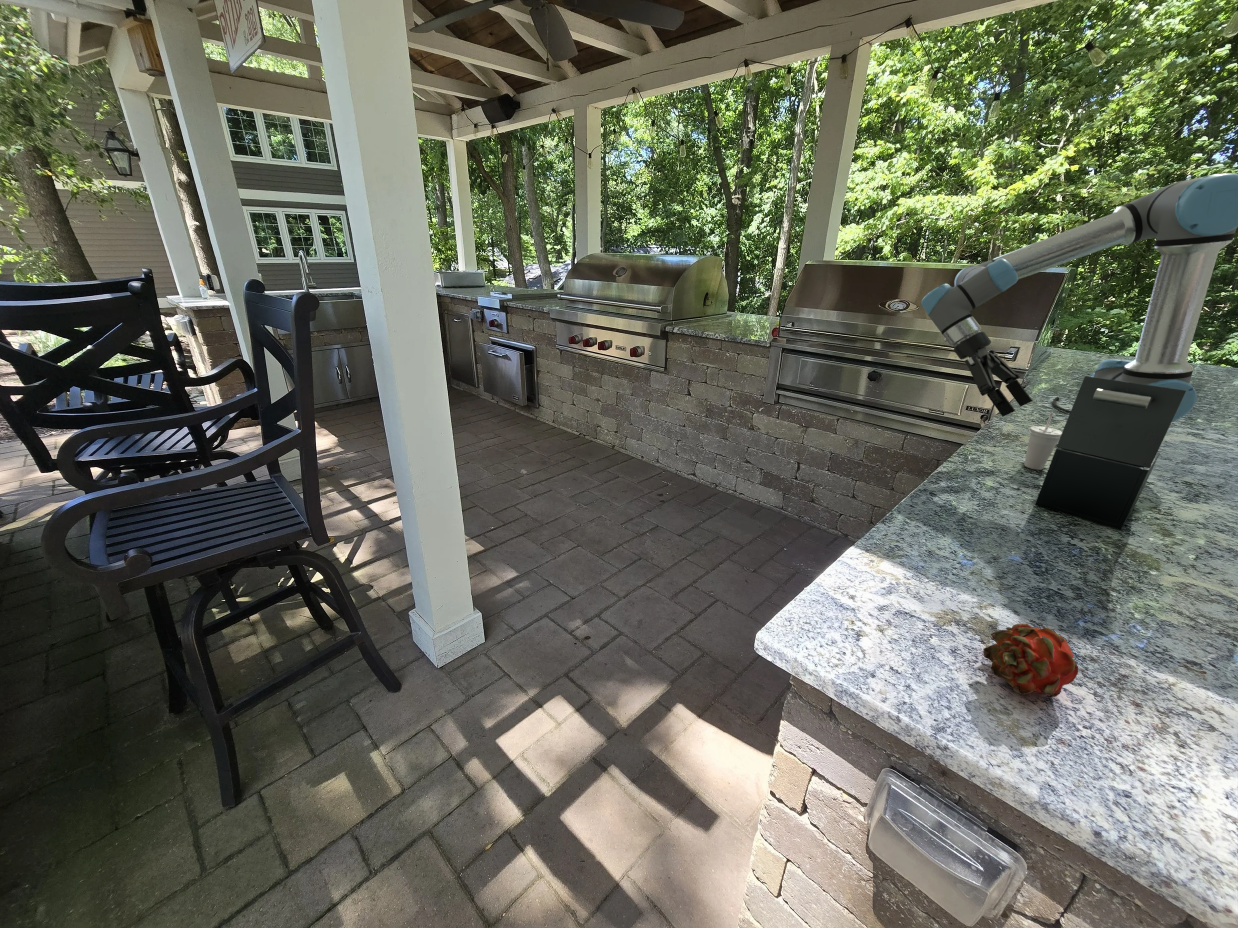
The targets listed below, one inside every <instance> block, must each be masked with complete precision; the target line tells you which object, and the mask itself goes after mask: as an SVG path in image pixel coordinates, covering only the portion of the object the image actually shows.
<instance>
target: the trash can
mask: <svg viewBox="0 0 1238 928" xmlns="http://www.w3.org/2000/svg"><path fill="white" fill-rule="evenodd" d="M1054 450H1055V451H1054V453H1053V456H1052V459H1051V460H1050V464H1049V467H1048V469H1047V471H1046V475H1045V476H1044V480H1043V482H1042V485H1041V487H1040V490H1039V493H1038V495H1037V498H1036V501H1035V502H1034V503H1035V506H1039V507H1042V508H1044V509H1048V510H1052V511H1055V512H1057V513H1061V514H1065V515H1068V516H1072V517H1076V518H1078V519H1082V520H1084V521H1088V522H1091V523H1095V524H1098V525H1102V526H1104V527H1108V528H1111V529H1115V530H1118V531H1122V529H1123V528H1124V526H1125V525H1126V522H1127V521H1128V520H1129V518H1130V517H1131V514H1132V512H1133V511H1134V509H1135V507H1136V505H1137V503H1138V501H1139V499H1140V496H1141V494H1142V492H1143V490H1144V488H1145V486H1146V484H1147V482H1148V480H1149V478H1150V475H1151V473H1152V471H1153V469H1154V468H1155V467H1154V466H1155V465H1156V463H1157V460H1158V459H1159V456H1160V452H1159V451H1158V452H1157V454H1156V456H1155V458H1154V461H1153V463H1152V465H1151V467H1150V468H1146V467H1141V466H1137V465H1133V464H1128V463H1124V462H1120V461H1115V460H1111V459H1106V458H1102V457H1098V456H1093V455H1089V454H1085V453H1080V452H1076V451H1071V450H1067V449H1063V448H1058V447H1056V449H1054Z"/></svg>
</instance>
